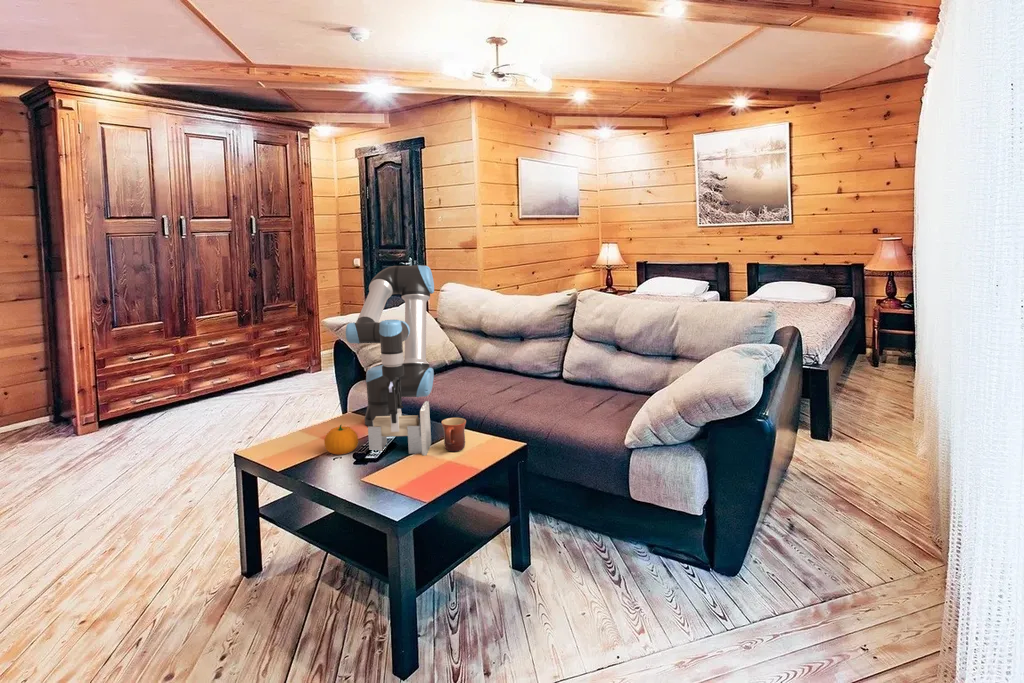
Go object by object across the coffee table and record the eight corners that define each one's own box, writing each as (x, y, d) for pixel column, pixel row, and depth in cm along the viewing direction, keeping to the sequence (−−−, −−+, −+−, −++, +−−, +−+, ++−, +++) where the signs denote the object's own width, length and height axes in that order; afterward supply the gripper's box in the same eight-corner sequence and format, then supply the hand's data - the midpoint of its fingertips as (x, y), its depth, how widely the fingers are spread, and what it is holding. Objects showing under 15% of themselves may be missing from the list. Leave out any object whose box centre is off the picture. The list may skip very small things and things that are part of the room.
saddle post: (374, 446, 223) (372, 420, 221) (387, 446, 223) (385, 419, 221) (369, 454, 215) (367, 427, 213) (382, 454, 215) (380, 426, 213)
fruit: (355, 443, 227) (353, 417, 225) (362, 453, 216) (360, 426, 215) (322, 449, 222) (320, 422, 220) (328, 459, 211) (325, 432, 210)
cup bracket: (413, 443, 225) (411, 401, 222) (431, 443, 225) (429, 401, 222) (407, 455, 213) (405, 411, 210) (426, 455, 213) (424, 410, 210)
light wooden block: (377, 432, 220) (376, 416, 219) (419, 431, 220) (418, 415, 219) (374, 436, 216) (373, 420, 214) (417, 435, 215) (416, 419, 214)
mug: (446, 444, 223) (445, 417, 222) (470, 445, 222) (468, 418, 220) (436, 456, 212) (435, 427, 210) (460, 457, 210) (459, 428, 208)
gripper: (387, 359, 222) (391, 421, 226) (376, 370, 205) (380, 437, 209) (407, 359, 222) (411, 421, 226) (398, 369, 205) (402, 436, 209)
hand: (396, 428), depth 217 cm, fingers closed on light wooden block, 5 cm apart
